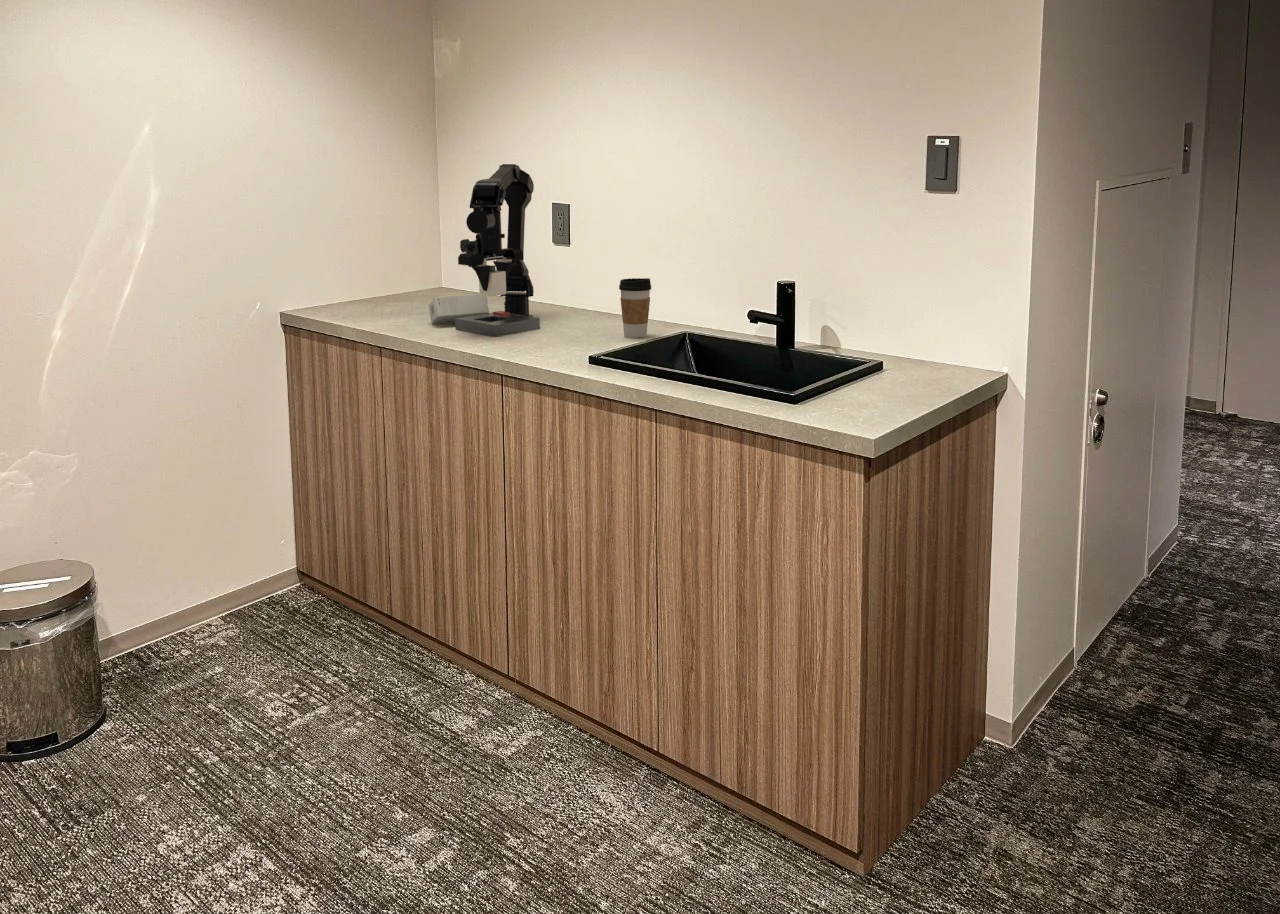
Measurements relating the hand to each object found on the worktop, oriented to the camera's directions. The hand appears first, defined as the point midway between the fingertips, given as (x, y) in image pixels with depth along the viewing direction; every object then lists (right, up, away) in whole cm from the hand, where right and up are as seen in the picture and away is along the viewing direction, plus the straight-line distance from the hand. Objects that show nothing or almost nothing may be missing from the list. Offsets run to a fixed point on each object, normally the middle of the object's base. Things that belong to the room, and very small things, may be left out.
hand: (492, 289), depth 309 cm
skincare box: (-18, -4, +10) cm, 21 cm away
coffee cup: (+38, -13, -6) cm, 41 cm away
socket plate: (+1, -10, +5) cm, 11 cm away
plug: (0, -1, 0) cm, 1 cm away
